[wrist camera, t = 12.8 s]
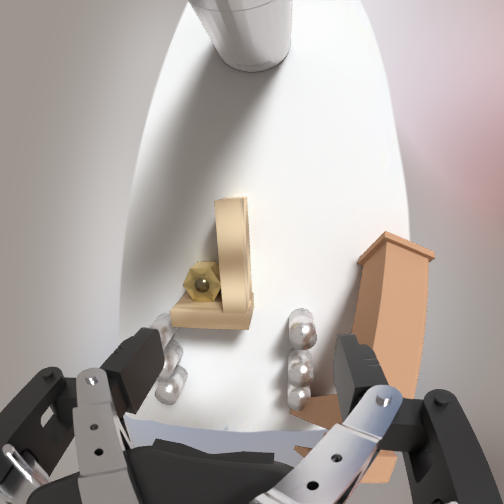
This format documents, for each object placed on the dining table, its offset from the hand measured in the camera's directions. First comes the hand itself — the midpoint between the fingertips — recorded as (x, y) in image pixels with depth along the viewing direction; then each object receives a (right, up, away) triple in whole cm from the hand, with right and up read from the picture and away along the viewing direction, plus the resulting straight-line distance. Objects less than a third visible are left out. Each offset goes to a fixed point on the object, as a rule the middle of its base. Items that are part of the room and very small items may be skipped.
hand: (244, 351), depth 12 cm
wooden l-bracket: (-4, +4, +23) cm, 24 cm away
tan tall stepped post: (+14, -7, +25) cm, 29 cm away
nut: (-5, +1, +24) cm, 25 cm away
